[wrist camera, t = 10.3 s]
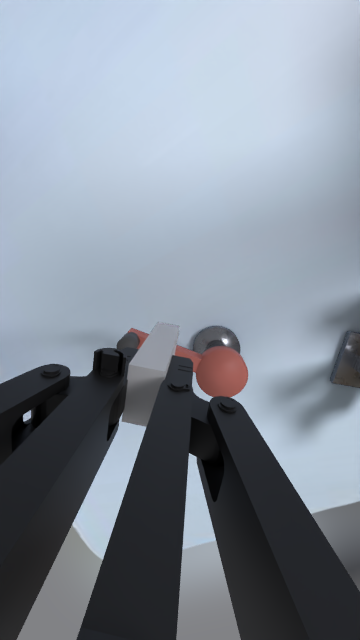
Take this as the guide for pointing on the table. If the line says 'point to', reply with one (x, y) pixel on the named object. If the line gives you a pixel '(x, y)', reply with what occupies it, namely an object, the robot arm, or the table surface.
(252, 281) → the table surface
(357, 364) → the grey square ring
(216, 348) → the red joystick lever
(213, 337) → the dark grey metal pedestal
